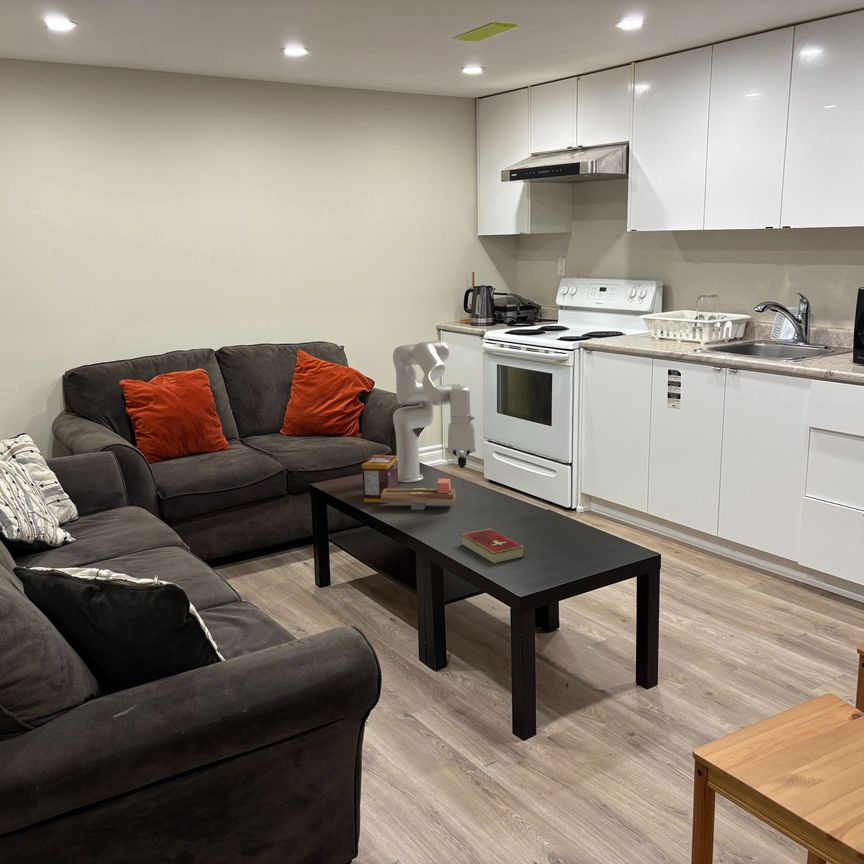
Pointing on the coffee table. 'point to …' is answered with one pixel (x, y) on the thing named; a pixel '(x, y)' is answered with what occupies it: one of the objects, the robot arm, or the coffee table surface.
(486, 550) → the hardcover book
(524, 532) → the coffee table surface
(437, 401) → the robot arm
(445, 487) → the block
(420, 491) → the beam
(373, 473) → the supplement box
